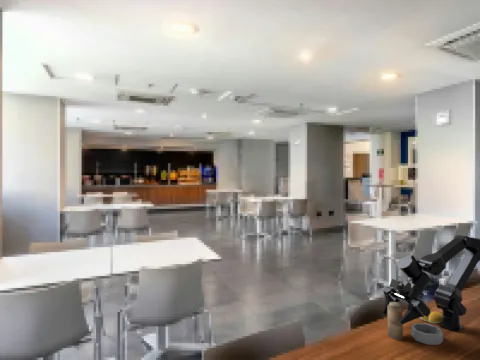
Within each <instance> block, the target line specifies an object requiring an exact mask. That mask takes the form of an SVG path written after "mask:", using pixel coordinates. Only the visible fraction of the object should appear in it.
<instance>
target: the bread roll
mask: <svg viewBox="0 0 480 360" xmlns="http://www.w3.org/2000/svg"><path fill="white" fill-rule="evenodd" d="M419 319H420V320H422V321H423V322H427V323H428V322H429V323H430V324H436V325H437V324H439V325H440V324H442V323H443V313H441V312H438V311H432V310H431V309H430V314H429V316H428V317H426V316H424V317H420V318H419Z"/></svg>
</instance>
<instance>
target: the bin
mask: <svg viewBox="0 0 480 360" xmlns="http://www.w3.org/2000/svg"><path fill="white" fill-rule="evenodd" d="M410 329H411V331H410V332H411V334H410V335H411V337H412V338H413V339H414V340H415V341H416V342H419V343H421V344H425V345H432V346H433V345H434V346H435V345H436V346H439V345H440V344H442V343H443V342H444V331H443V330H442V329H440V328H439V326H436V325H432V324H431V323H430V324H429V323H424V322H423V323H420V322H419V323H418V322H416V323H414V324H413V325H410Z"/></svg>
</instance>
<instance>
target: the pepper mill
mask: <svg viewBox="0 0 480 360" xmlns="http://www.w3.org/2000/svg"><path fill="white" fill-rule="evenodd" d="M386 314H387V336H388V338H390V339H393V340H397V341H398V340H401V341H402V340H403V339H404V327H403V326H404V324H401V323H400V321H401V319H402V318H403V316H404V315H403V306H401V304H400V303H399V302H390V303H389V304H388V305H387V313H386Z"/></svg>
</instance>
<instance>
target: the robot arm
mask: <svg viewBox="0 0 480 360" xmlns="http://www.w3.org/2000/svg"><path fill="white" fill-rule="evenodd" d="M462 251H464V255H463V257H462V259H461V260H460V262H459V264H458V265H457V267H456V269H455V271H454V272H453V274H452V275H451V277H450V279H449V280H448V282H447V283H446V284H445V285H444V284H441V283H440V284H438V286H437V289H436V290H434V295H433V300H434V303H435V305H436V308H437V309H439V310H442V311H441V312H442V315H443V323H439V325H438V327H440V328H443V329H447V330H449V331H453V332H456V333H457V332H460V331H462V329H464V325H461V317H463V316H465V315H466V314H467V308H466V307H465V306H464V304H463V303H462V301H463V296H462V295H463V294H462V291H463V289H464V287H465V286H466V284H467V282H468V281H469V279H470V277H471V275H472V273H473V272H474V269H475V268H476V267H477V265H478V263H479V262H480V237H479V238H478V237H471V236H468V235H464V234H457V235H455V236H454V238H453V239H452V240H451V241H449V242H448V243H447V244H445V245H444V246H443V247H441V248H439V250H438V251H436V252H434V253H430V254H426V255H424V256H422V257H421V258H420V259H418V260H417V259H416V257H415V256H414V255H413V254H410V253H409V254H408V255H407V256H404V257H401V258H400V259H399V260H398V261H397V264H396V265H397V267H398V268H399V270H400V271H401V272H402V273H403V274H404V275H405V276H406V277H407V278H409V280H408V281H406V280H405V281H403V282H402V281H400V280H397V279H394V278H391V280H390V284H389V286H388V285H387V286H384V288H383V289H382V292H383V295H384V296H385V299H384V300H385V301H384V305H383V310H382V314H383V315H386V314H388V313H387V305H388V304H389V303H390V302H397V303H399V302H400V301H401V302H402V303H405V304H407V310H406V311H405V313H404V315H402V316H403V318H402V319H401V321H400V323H401V324H403V325H404V324H407V323H409V322H411V321H413V320H416V319H420V317H424V316H426V317H428V316H429V314H430V310H431V308H430V307H429V306H428V305H427V304H426V303H425V302H424V301H423V300H421V299H419V297H422V298H423V297H424V295H425V294H424V291H425V289H426V288H427V287H428V285H429V284H430V285H432V286H434V285H436V284H435V280H434V276H439V275H440V274H441V273H442V272H443V271H444V270H445V269H446V266H447V263H448V262H449V261H451V260H452V259H453V258H455V257H456V256H457V255H459V254H460V253H461V252H462ZM429 274H431V275H433V276H430V275H429Z"/></svg>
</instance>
